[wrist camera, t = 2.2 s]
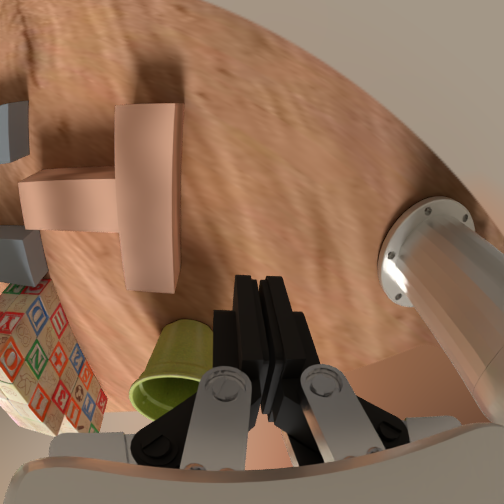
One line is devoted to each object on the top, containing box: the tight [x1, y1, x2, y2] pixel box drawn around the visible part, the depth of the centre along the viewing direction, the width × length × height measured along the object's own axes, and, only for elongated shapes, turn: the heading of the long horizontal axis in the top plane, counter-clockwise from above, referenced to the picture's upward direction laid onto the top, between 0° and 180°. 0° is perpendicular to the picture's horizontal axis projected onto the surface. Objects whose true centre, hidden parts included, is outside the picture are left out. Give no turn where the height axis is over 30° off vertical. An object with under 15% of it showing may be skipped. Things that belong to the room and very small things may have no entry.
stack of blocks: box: [0, 279, 108, 437], centre depth 26 cm, size 21×6×12 cm, turn 0°
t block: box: [18, 103, 185, 294], centre depth 21 cm, size 13×14×4 cm
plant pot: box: [129, 319, 213, 421], centre depth 27 cm, size 9×9×9 cm
